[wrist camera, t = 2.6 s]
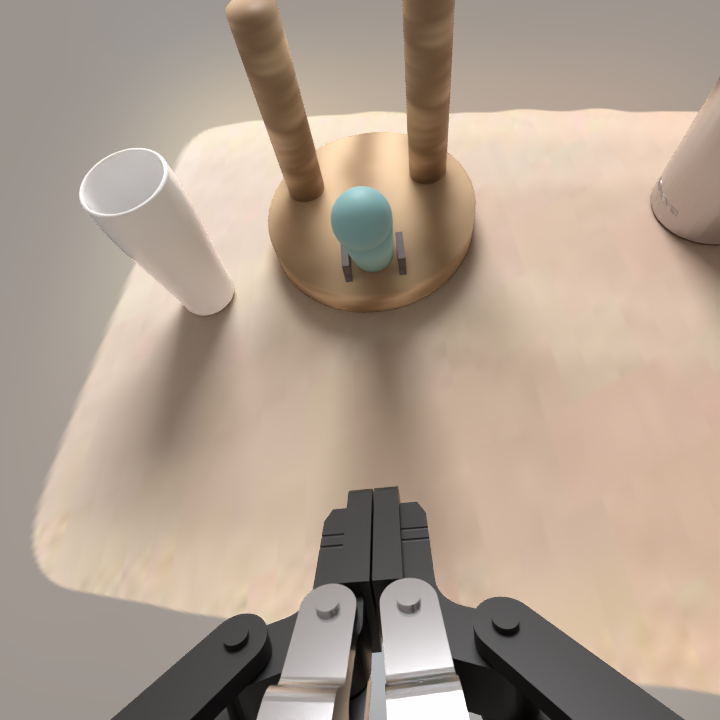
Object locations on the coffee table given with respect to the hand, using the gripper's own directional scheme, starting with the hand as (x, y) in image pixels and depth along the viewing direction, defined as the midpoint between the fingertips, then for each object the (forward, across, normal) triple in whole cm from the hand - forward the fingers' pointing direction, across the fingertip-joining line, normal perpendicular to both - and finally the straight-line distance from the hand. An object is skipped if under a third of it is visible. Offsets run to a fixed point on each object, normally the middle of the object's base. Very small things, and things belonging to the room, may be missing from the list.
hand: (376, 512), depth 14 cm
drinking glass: (+34, +17, -1) cm, 38 cm away
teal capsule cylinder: (+31, 0, -4) cm, 31 cm away
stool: (+38, 0, -6) cm, 38 cm away
